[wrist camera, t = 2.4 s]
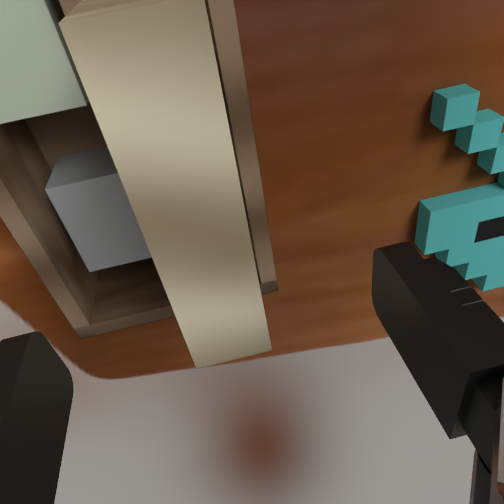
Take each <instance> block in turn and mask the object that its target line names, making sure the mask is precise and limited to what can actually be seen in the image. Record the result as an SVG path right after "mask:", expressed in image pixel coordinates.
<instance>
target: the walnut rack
mask: <svg viewBox="0 0 504 504" xmlns="http://www.w3.org/2000/svg"><path fill="white" fill-rule="evenodd" d="M80 1H81V0H59V2H60V5H61V7H62V10H63V12H64V15H65V16H66V15H67V14H68V13H69V12H70V11H71V10H72V9H73V8H74V7H75V6H76V5H77V4H78V3H79V2H80ZM205 5H206V10H207V15H208V20H209V26H210V31H211V36H212V41H213V46H214V52H215V57H216V62H217V67H218V72H219V77H220V83H221V88H222V93H223V98H224V103H225V109H226V114H227V119H228V124H229V129H230V135H231V140H232V145H233V150H234V155H235V161H236V166H237V171H238V176H239V181H240V187H241V192H242V197H243V202H244V207H245V213H246V218H247V223H248V228H249V233H250V239H251V244H252V249H253V254H254V259H255V264H256V270H257V275H258V280H259V285H260V290H261V295H263V294H267V293H271V292H275V291H278V286H277V280H276V273H275V267H274V260H273V254H272V247H271V241H270V234H269V228H268V221H267V215H266V208H265V202H264V195H263V189H262V182H261V176H260V169H259V163H258V156H257V150H256V143H255V137H254V130H253V124H252V117H251V111H250V104H249V98H248V91H247V85H246V78H245V72H244V65H243V59H242V52H241V46H240V39H239V33H238V26H237V20H236V13H235V7H234V0H205ZM102 147H107V144H106V141H105V139H104V136H103V134H102V131H101V129H100V126H99V124H98V121H97V119H96V116H95V114H94V111H93V109H92V106H91V104H90V101H88V104H87V105H86V106H82V107H77V108H72V109H68V110H63V111H58V112H54V113H49V114H44V115H40V116H35V117H30V118H26V119H21V120H16V121H12V122H7V123H2V124H0V217H1V218H2V220H3V221H4V223H5V224H6V226H7V228H8V229H9V231H10V232H11V234H12V235H13V237H14V238H15V240H16V241H17V243H18V244H19V246H20V247H21V249H22V250H23V252H24V254H25V255H26V257H27V258H28V260H29V261H30V263H31V264H32V266H33V267H34V269H35V270H36V272H37V273H38V275H39V276H40V278H41V280H42V281H43V283H44V284H45V286H46V287H47V289H48V290H49V292H50V293H51V295H52V296H53V298H54V299H55V301H56V302H57V304H58V306H59V307H60V309H61V310H62V312H63V313H64V315H65V316H66V318H67V319H68V321H69V322H70V324H71V325H72V327H73V328H74V330H75V332H76V333H77V335H78V336H79V338H80V339H82V338H86V337H90V336H94V335H99V334H103V333H107V332H111V331H115V330H119V329H123V328H127V327H131V326H136V325H140V324H144V323H148V322H152V321H156V320H160V319H164V318H168V317H172V316H175V314H174V311H173V309H172V306H171V304H170V301H169V299H168V296H167V294H166V291H165V289H164V286H163V284H162V281H161V279H160V276H159V274H158V271H157V269H156V266H155V264H154V261H153V259H152V258H147V259H143V260H139V261H135V262H130V263H126V264H122V265H118V266H113V267H109V268H105V269H101V270H96V271H92V272H89V270H88V268H87V266H86V265H85V263H84V261H83V259H82V257H81V255H80V254H79V252H78V250H77V248H76V246H75V244H74V242H73V241H72V239H71V237H70V235H69V233H68V231H67V230H66V228H65V226H64V224H63V222H62V220H61V219H60V217H59V215H58V213H57V211H56V209H55V208H54V206H53V204H52V202H51V200H50V198H49V196H48V195H47V193H46V191H45V188H46V185H47V183H48V180H49V178H50V176H51V173H52V171H53V168H54V166H55V164H56V161H57V159H58V157H61V156H66V155H70V154H75V153H80V152H84V151H89V150H93V149H98V148H102Z"/></svg>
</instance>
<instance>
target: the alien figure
mask: <svg viewBox="0 0 504 504" xmlns="http://www.w3.org/2000/svg"><path fill="white" fill-rule="evenodd" d="M479 96H480V91H478V90H476V89H474V88H472V87H470V86H468V85H466V84H461V85H457V86H452V87H448V88H444V89H439V90H435V91H434V92H433V100H432V108H431V116H430V123H432V124H433V125H434V126H436V127H437V128H439V129H440V130H442V131H447V130H451V129H456V128H457V131H456V137H455V143H454V144H455V145H456V146H458V147H459V148H460V149H462V150H463V151H464V152H466V153H467V154H470V153H475V152H479V155H478V160H477V165H478V166H480V167H481V168H483V169H484V170H485V171H487V172H488V173H489V174H495V173H499V176H498V180H497V182H496V183H492V184H488V185H483V186H479V187H475V188H471V189H467V190H462V191H458V192H454V193H450V194H446V195H441V196H437V197H433V198H429V199H425V200H420V203H419V211H418V218H417V226H416V234H415V242H414V243H415V244H416V245H417V247H418V248H419V249H420V250H421V252H422V253H423V254H424V255H427V254H431V253H435V252H436V253H435V257H436V258H437V259H439V260H441V261H442V262H444V263H446V264H448V265H449V266H451V267H452V266H454V268H455V269H456V270H457V271H458V273H459V274H460V275H461V276H462V277H463V278H464V279H465V280H468V279H472V280H473V281H474V282H475V284H476V285H477V286H478V287H479V288H480V289H481V290H482V291H487V290H491V289H495V288H499V287H503V286H504V133H501V130H502V126H503V122H504V117H503V116H501V115H499V114H497V113H496V112H494V111H492V110H490V109H485V110H481V111H477V106H478V101H479Z"/></svg>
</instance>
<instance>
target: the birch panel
mask: <svg viewBox="0 0 504 504" xmlns="http://www.w3.org/2000/svg"><path fill="white" fill-rule="evenodd" d="M58 24H59V26H60V29H61V31H62V34H63V36H64V39H65V41H66V44H67V46H68V49H69V51H70V54H71V56H72V59H73V61H74V64H75V66H76V69H77V71H78V74H79V76H80V79H81V81H82V84H83V86H84V89H85V91H86V94H87V96H88V99H89V101H90V104H91V106H92V109H93V111H94V114H95V116H96V119H97V121H98V124H99V126H100V129H101V131H102V134H103V136H104V139H105V141H106V144H107V146H108V149H109V151H110V154H111V156H112V159H113V161H114V164H115V166H116V169H117V171H118V174H119V176H120V179H121V181H122V184H123V186H124V189H125V191H126V194H127V196H128V199H129V201H130V204H131V206H132V209H133V211H134V214H135V216H136V219H137V221H138V224H139V226H140V229H141V231H142V234H143V236H144V239H145V241H146V244H147V246H148V249H149V251H150V254H151V256H152V259H153V261H154V264H155V266H156V269H157V271H158V274H159V276H160V279H161V281H162V284H163V286H164V289H165V291H166V294H167V296H168V299H169V301H170V304H171V306H172V309H173V311H174V314H175V316H176V319H177V321H178V324H179V326H180V329H181V331H182V334H183V336H184V339H185V341H186V344H187V346H188V349H189V351H190V354H191V356H192V359H193V361H194V364H195V366H196V369H198V368H202V367H206V366H210V365H214V364H218V363H222V362H226V361H230V360H234V359H238V358H242V357H246V356H250V355H254V354H258V353H262V352H266V351H270V350H272V348H271V342H270V337H269V332H268V327H267V322H266V316H265V311H264V306H263V301H262V296H261V290H260V285H259V280H258V275H257V270H256V264H255V259H254V254H253V249H252V244H251V239H250V233H249V228H248V223H247V218H246V213H245V207H244V202H243V197H242V192H241V187H240V181H239V176H238V171H237V166H236V161H235V155H234V150H233V145H232V140H231V135H230V129H229V124H228V119H227V114H226V109H225V103H224V98H223V93H222V88H221V83H220V77H219V72H218V67H217V62H216V57H215V52H214V46H213V41H212V36H211V31H210V26H209V20H208V15H207V10H206V5H205V0H81V1H80V2H79V3H78V4H77V5H76V6H75V7H74V8H73V9H72V10H71V11H70V12H69V13H68V14H67V15H66V16H65V17H64V18H63V19H62V20H61V21H60V22H59V23H58Z"/></svg>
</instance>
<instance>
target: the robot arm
mask: <svg viewBox="0 0 504 504" xmlns="http://www.w3.org/2000/svg"><path fill="white" fill-rule="evenodd" d="M372 300H373V305H374V308H375V311H376V314H377V316H378V318H379V320H380V321H381V323H382V325H383V326H384V328H385V330H386V331H387V333H388V335H389V337H390V338H391V340H392V342H393V343H394V345H395V347H396V349H397V350H398V352H399V353H400V355H401V357H402V359H403V360H404V362H405V364H406V366H407V367H408V369H409V371H410V372H411V374H412V376H413V378H414V379H415V381H416V383H417V384H418V386H419V388H420V389H421V391H422V393H423V395H424V396H425V398H426V400H427V401H428V403H429V405H430V406H431V408H432V410H433V411H434V413H435V415H436V417H437V418H438V420H439V422H440V424H441V425H442V427H443V429H444V430H445V432H446V434H447V435H448V437H449V439H453V438H456V437H460V436H463V435H468V437H469V439H470V440H471V442H472V443H473V445H474V447H475V448H476V449H475V453H474V461H473V472H472V483H471V492H470V503H469V504H504V323H503V321H502V320H501V319H500V318H499V317H498V316H497V315H496V314H495V312H494V311H493V310H492V309H491V308H490V307H489V306H488V305H487V304H486V302H483V301H482V298H481V297H480V296H479V295H478V294H477V292H476V291H475V290H474V289H473V288H470V285H469V284H468V282H467V281H466V280H465V279H464V278H463V277H462V276H461V275H460V274H459V273H458V271H457V270H456V269H455V268H453V267H451V266H449V265H448V264H446V263H444V262H442V261H441V260H439V259H437V258H435V257H432V258H428V259H423V258H422V257H421V255H420V254H419V253H418V252H417V251H416V249H415V248H414V247H413V246H412V245H411V244H410V243H409V242H401V243H397V244H393V245H389V246H385V247H381V248H377V249H375V250H374V253H373V273H372ZM72 398H73V381H72V377H71V374H70V371H69V370H68V368H67V367H66V365H65V364H64V363H63V361H62V360H61V358H60V357H59V356H58V354H57V353H56V352H55V350H54V349H53V347H52V346H51V345H50V343H49V342H48V341H47V339H46V338H45V337H44V335H43V334H42V333H40V332H37V331H36V332H32V333H28V334H23V335H19V336H15V337H12V338H7V339H3V340H2V341H1V342H0V504H54V500H55V495H56V489H57V483H58V478H59V472H60V466H61V461H62V455H63V449H64V443H65V438H66V432H67V427H68V421H69V414H70V409H71V404H72Z"/></svg>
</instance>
